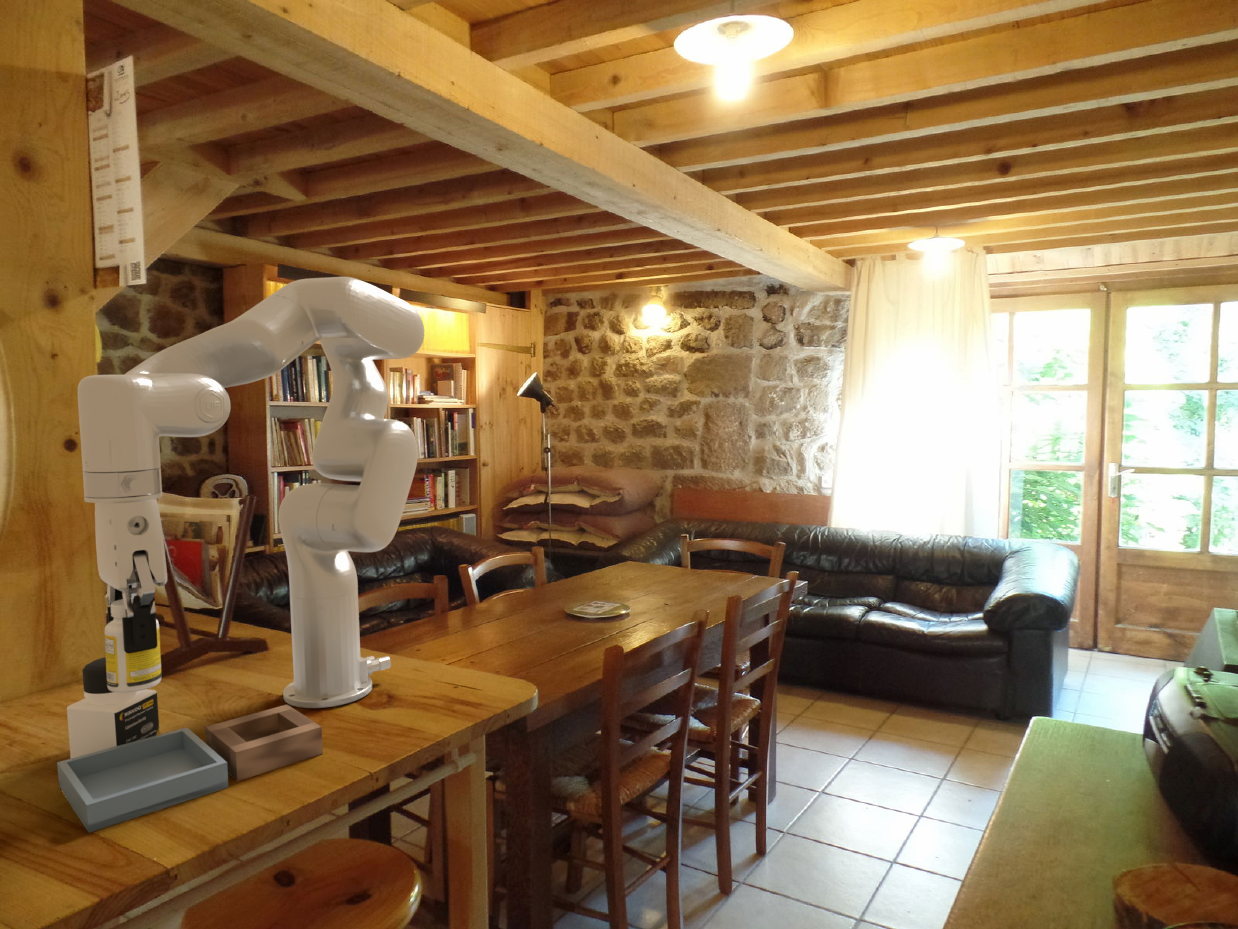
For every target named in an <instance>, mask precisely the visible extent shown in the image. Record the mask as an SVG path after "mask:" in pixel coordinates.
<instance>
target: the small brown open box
mask: <svg viewBox="0 0 1238 929" xmlns="http://www.w3.org/2000/svg"><path fill="white" fill-rule="evenodd" d="M204 731H205V743H206V744H207V745H208V746H209V747H210V748H211V749H212V750H214V751H215V752H216V753H217V754H218V755H219V756H220V757H222V758H223V759H224V760H225V761H226V762H227V770H228V775H230V777H232V778H233V779H235V781H237V782H239V781H243V780H245V779H248V778H252V777H254V776H259V775H261V774H264V773H267V772H270V771H273V770H276V769H280V768H283V767H285V766H289V765H292V764H295V763H299V762H301V761H304V760H308V759H309V758H314V757H317V756H320V755H322V754H323V755H324V753H323V752H324V748H323V732H322V731H323V728H322V725H320V724H318V723H317V722H315V721H313V720H312V719H310V718H309V717H307V716H306V715H305V714H303V713H301V712H300V711H298V710H296V709H295V708H293V706H291V705H290V704H284V705H280V706H277V707H273V708H269V709H266V710H262V711H258V712H255V713H251V714H247V715H243V716H240V717H237V718H232V719H229V720H226V721H222V722H218V723H214V724H211V725H207V726H205V727H204Z"/></svg>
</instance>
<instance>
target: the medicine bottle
mask: <svg viewBox="0 0 1238 929" xmlns="http://www.w3.org/2000/svg"><path fill="white" fill-rule="evenodd" d="M82 684H83V696H84V698H82V699H80V700H78V701H76V702H74V703H71V704H70V705H68V706H67V707H66V714H67V726H68V727H67V728H68V739H69V741H68V742H69V754H70V759H71V758H75V757H79V756H82V755H86V754H90V753H94V752H97V751H101V750H105V749H108V748H112V747H116V746H119V745H123V744H127V743H131V742H134V741H138V740H142V739H145V738H149V737H153V736H157V735H160V734H161V733H160V732H161V731H160V720H159V705H158V704H159V702H158V692H157V690H155V689H146V690H141V691H136V692H126V693H118V692H112V691H110V690H109V689H108V687H107V673H106V656H105V657H101V658H97V659H95V660H93V661H91V662H89V663H87V664H86V665H85V666H84V667H83V668H82Z"/></svg>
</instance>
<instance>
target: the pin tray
mask: <svg viewBox="0 0 1238 929" xmlns="http://www.w3.org/2000/svg"><path fill="white" fill-rule="evenodd" d="M56 767H57V777H58V778H57V779H58V780H57V781H58V788H59V787H60V788H61V790H62V791H63V793H64V794H63V793H62V794H63V796H64V795H65V796H66V797H65V796H64V797H65V799H66V798H67V799H66V800H67V802H68V801H69V802H68V803H69V805H70V804H71V805H70V806H71V809H72V810H73V811H74V813H75V814H76V815H77V817H78V819H79V820H80V822H81V823H82V825H83V826H84V828H85V829H86V831H87V832H88V833H89V834H90V833H92V832H96V831H99V830H102V829H106V828H108V827H111V826H114V825H117V824H120V823H123V822H127V821H129V820H132V819H135V818H139V817H142V816H145V815H148V814H151V813H154V812H157V811H159V810H160V811H161V810H163V809H166V808H169V807H173V806H175V805H178V804H181V803H184V802H185V803H186V802H187V801H191V800H194V799H196V798H199V797H203V796H206V795H208V794H212V793H215V792H218V791H221V790H223V789H227V788H229V773H228V770H227V762H226V761H225V760H224V759H223V758H222V757H220V756H219V755H218V754H217V753H216V752H215V751H214V750H212V749H211V748H210V747H209V746H208V745H207V744H206V742H204V740H202V739H201V738H200V737H199V736H198V735H196V734H195V732H193V731H192V730H191V729H190V728H188V727H187V726H186V727H184V728H179V729H175V730H172V731H168V732H164V733H160V735H157V736H153V737H149V738H145V739H142V740H138V741H134V742H131V743H127V744H123V745H119V746H116V747H112V748H108V749H105V750H101V751H97V752H94V753H90V754H86V755H82V756H79V757H75V758H71V757H70V758H69V759H64V760H61V761H57V762H56ZM60 788H59V789H60ZM61 790H60V791H61ZM62 791H61V792H62Z"/></svg>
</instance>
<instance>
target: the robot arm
mask: <svg viewBox="0 0 1238 929" xmlns="http://www.w3.org/2000/svg"><path fill="white" fill-rule="evenodd" d="M423 322H424V321H423V319H422V317H421V315H420V314H419V312H418V311H417V310H416V309H415V308H414V306H413V305H411V304H410V303H409V302H407V301H405V300H404V299H401V298H399V297H397V296H395V295H394V294H392V293H389V292H387V291H385V290H383V289H382V288H379V287H378V286H375V285H373V284H371V283H368V282H367V281H363V280H361V279H358V278H355V277H351V276H332V277H314V278H303V279H297V280H294V281H291V282H289V283H287V284H286V285H283V286H282V287H280V288H279V289H277V290H276V291H275V292H273V293H271V294H270V295H269V296H267V297H265V298H264V299H263V300H261V301H260V302H258V303H257V304H255V305H254V306H253V307H252V308H250V309H248V310H247V311H245V312H244V313H242V314H240V316H239V315H238V317H235V319H233V320H231V321H229V322H226V323H224V324H222V325H219V326H216V327H213V328H211V329H209V330H207V331H204V332H202V333H200V334H197V335H195V336H193V337H190V338H188V339H185V340H183V341H180V342H178V343H175V344H173V345H171V346H169V347H166V348H164V349H162V350H160V351H159V352H156V353H155V354H152V356H150V357H148V358H147V359H145V360H143V361H142V362H141V363H139V364H137V365H136V366H135V367H133V368H131V369H130V370H129V371H127V372H125V373H124V374H93V375H87V376H85V377H83V378H82V379H81V380H80V381H79V383H78V385H77V406H78V408H77V409H78V420H79V433H80V434H79V436H80V447H81V449H80V450H81V464H82V465H81V466H82V479H83V480H82V481H83V494H84V496H83V497H84V501H83V502H85V503H90V504H91V503H93V504H94V525H95V526H94V529H95V530H94V531H95V532H94V533H95V547H96V548H95V550H96V551H95V552H96V563H97V564H96V565H97V570H98V575H99V578H100V580H102V582H104V583H106V584H107V585H106V588H107V589H106V590H107V591H106V592H107V593H106V603H107V607H106V608H107V609H106V611H107V622H108V623H109V622H111V621H113V620H114V617H112V616H111V603H112V602H114V601H117V600H121V599H123V602H124V609H125V615H126V617H123V618H122V623H123V639H124V651H125V652H126V653H128V654H130V653H135V652H140V651H145V650H150V649H154V648H156V647H157V645H158V644H157V627H156V619H157V614H156V604H155V600H156V599H155V594H156V588H155V585H156V586H158V587H164V586H165V585H166V584H167V582H168V572H167V571H168V570H167V568H168V567H167V561H166V560H167V559H166V549H165V543H164V541H165V540H164V534H163V532H164V531H163V526H162V520H161V513H160V508H159V505H158V500H157V499H160V498H163V485H162V469H161V451H160V450H161V448H160V437H173V438H175V437H176V438H177V437H179V438H198V437H204V436H208V435H211V434H212V433H215V432H216V431H218V430H219V429H221V428H222V426H224V424H225V423H226V422H227V420H228V418H229V416H230V413H231V400H230V396H229V393H228V392H227V390H226V389H225V388H229V387H235V386H236V387H237V386H242V385H246V384H250V383H254V382H257V381H260V380H263V379H267V378H270V377H272V376H274V375H276V374H278V373H279V372H281V371H282V370H283V369H284V368H285V367H287V366H288V365H289V364H290V363H291V362H293V361H294V360H295V359H297V357H299V356H300V355H301V354H302V353H304V352H306V351H307V350H308V349H309V348H310V347H312V346H313V345H314V344H316V343H317V342H319V343H320V345H321V348H322V350H323V353H324V354H325V356H326V359H327V362H328V364H329V368H330V371H331V376H332V383H333V385H332V390H331V395H330V398H329V401H328V405H327V407H326V410H325V413H324V416H323V417H322V418H323V419H322V421H321V424H320V426H319V428H318V429H319V430H318V433H317V435H316V438H315V440H314V445H313V448H312V454H311V461H312V464H313V465H312V466H313V468H314V469H315V471H316V472H317V473H319V475H321V476H322V477H324V478H327V479H330V480H337V481H345V482H360V484H359V485H358V484H356V485H355V484H343V483H341V484H340V483H318V482H317V483H316V482H315V483H308V484H307V483H306V484H302V485H299V486H296V487H295V488H293V489H291V490H290V491H289V492H288V493H286V495H285V496H284V497H283V499H282V500H281V503H280V505H279V509H278V527H279V531H280V535H281V539H282V542H283V546H284V550H285V555H286V561H287V568H288V582H289V605H290V606H289V607H290V624H291V626H290V627H291V628H290V629H291V644H292V646H291V649H292V666H293V667H292V669H293V682H290V683H289V684H287V686H286V687H284V689H283V693H282V694H283V696H282V697H283V700H284V702H285V703H286V704H287V705H289V706H291V707H297V708H302V709H304V708H305V709H325V708H333V707H339V706H342V705H347V704H350V703H352V702H355V701H358V700H360V699H362V698H364V697H366V696H367V695H368V694H370V692H371V691H372V689H373V681H372V678H371V677H370V676H372V675H373V673H374V672H378V671H384V670H387V669H390V668H391V666H392V661H391V658H390V656H388V655H386V656H382V657H381V656H380V657H377V658H376V659H375V656H374V655H369V656H366V657H363V656H361V642H360V641H361V640H360V639H361V637H360V619H359V618H360V615H359V614H360V613H359V612H360V610H359V589H358V588H359V585H358V584H359V583H358V582H359V581H358V575H357V570H356V566H355V564H354V561H353V559H352V557H351V554H350V553H349V552H355V553H357V552H358V553H375V552H379V551H381V550H383V549H385V548H387V546H388V545H389V544H390V543H391V542H392V540H394V537H395V535H396V533H397V532H398V528H399V525H400V523H401V519H402V516H403V513H404V510H405V507H406V506H405V505H406V503H407V500H408V496H409V494H410V491H411V487H412V484H413V480H414V477H415V473H416V468H417V465H418V457H419V455H418V453H419V452H418V451H419V450H418V443H417V438H416V436H415V434H414V432H413V430H412V429H411V428H410V426H408V425H407V424H406V423H404V422H402V421H401V420H400V421H399V419H398V420H396V419H392V418H385V416H386V412H387V408H388V404H389V399H390V398H389V391H388V388H387V385H386V383H385V381H384V379H383V377H382V375H381V373H380V372H379V370H378V367H377V366H376V364H375V361H374V360H401V359H407V358H410V357H412V356H414V355H415V354H417V353H418V351H419V350H420V349H421V348H422V345H423V343H424V339H425V326H424V325H425V324H424V323H423ZM131 598H134V599H133V601H131ZM108 623H107V624H108Z"/></svg>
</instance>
